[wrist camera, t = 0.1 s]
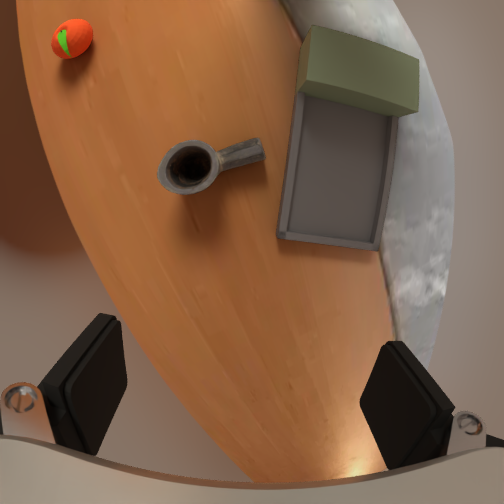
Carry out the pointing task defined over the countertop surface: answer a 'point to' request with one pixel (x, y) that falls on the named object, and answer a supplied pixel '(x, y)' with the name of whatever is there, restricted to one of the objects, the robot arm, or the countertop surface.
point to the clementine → (72, 38)
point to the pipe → (203, 164)
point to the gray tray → (344, 138)
